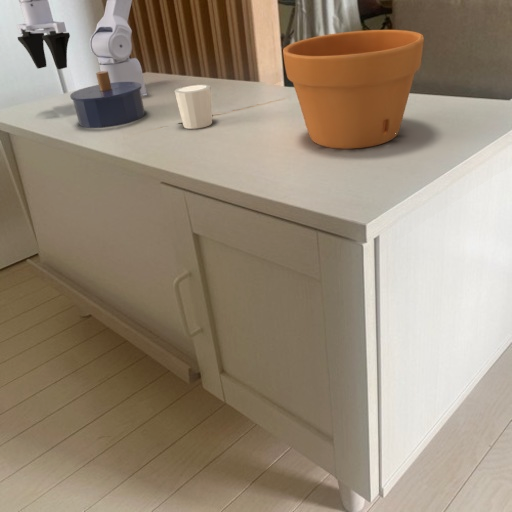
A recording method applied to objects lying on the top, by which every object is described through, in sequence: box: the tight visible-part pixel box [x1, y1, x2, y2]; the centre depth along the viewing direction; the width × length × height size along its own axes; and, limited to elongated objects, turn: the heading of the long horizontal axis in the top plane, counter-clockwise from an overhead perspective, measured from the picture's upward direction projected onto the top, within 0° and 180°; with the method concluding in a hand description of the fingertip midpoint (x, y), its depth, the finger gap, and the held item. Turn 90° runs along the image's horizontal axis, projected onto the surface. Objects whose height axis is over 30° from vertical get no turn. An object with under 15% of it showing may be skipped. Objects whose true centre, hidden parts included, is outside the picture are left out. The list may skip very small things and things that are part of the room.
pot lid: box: [69, 71, 142, 101], centre depth 111 cm, size 15×15×5 cm
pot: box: [72, 90, 145, 129], centre depth 113 cm, size 14×14×6 cm
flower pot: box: [282, 29, 425, 150], centre depth 86 cm, size 21×21×15 cm
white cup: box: [174, 84, 213, 130], centre depth 104 cm, size 7×7×7 cm
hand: (51, 68), depth 120 cm, fingers open, 7 cm apart
